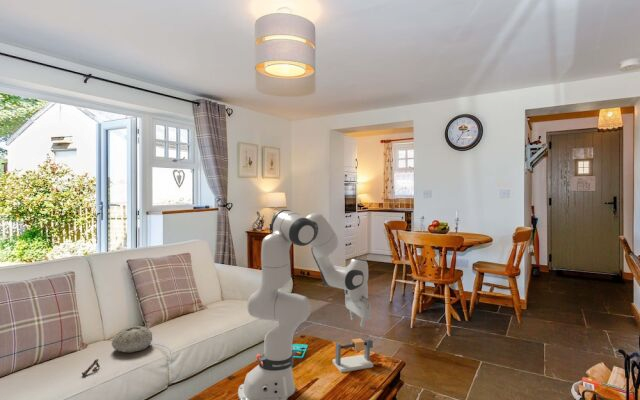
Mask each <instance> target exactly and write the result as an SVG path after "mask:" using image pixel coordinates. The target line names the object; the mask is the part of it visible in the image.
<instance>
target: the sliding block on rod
mask: <svg viewBox="0 0 640 400" xmlns="http://www.w3.org/2000/svg"><path fill="white" fill-rule="evenodd" d="M373 343H374V341H373V339H371V338H368V337H365V338H364V351H363V352H364V354H358V355H351V356H345V357H342V356H341V354H342V349H349V348H352V347H355V344H352V343H348V344H343V345H342V344H341V343H340V342H339V341H336V342H335V358H333V359H332V364H333V365H334V366H335V367H336V369H338V371H339V372H340V373H346V372H347V373H348V372H352V371H353V372H354V371H358V370H364V369H370V368H373V367H374V363H373V362H372V361H371V360H370V359H371V358H370V357H371V356H370V355H371V354H370V353H371V349H372V348H373V346H374V344H373Z"/></svg>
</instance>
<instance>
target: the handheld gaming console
mask: <svg viewBox="0 0 640 400" xmlns="http://www.w3.org/2000/svg"><path fill="white" fill-rule="evenodd" d="M308 347H309V346H308V344H302V343H292V354H293V359H295V358H296V359H303V358H304V356H305V354H306V352H307V350H308ZM295 353H296V354H295ZM297 354H300V355H297Z"/></svg>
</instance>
